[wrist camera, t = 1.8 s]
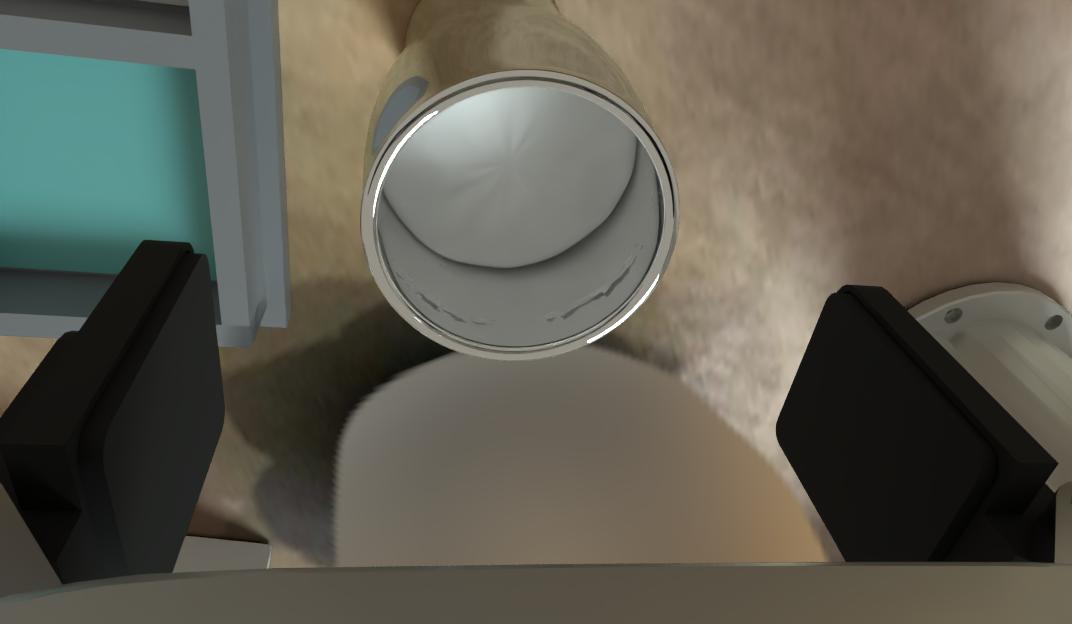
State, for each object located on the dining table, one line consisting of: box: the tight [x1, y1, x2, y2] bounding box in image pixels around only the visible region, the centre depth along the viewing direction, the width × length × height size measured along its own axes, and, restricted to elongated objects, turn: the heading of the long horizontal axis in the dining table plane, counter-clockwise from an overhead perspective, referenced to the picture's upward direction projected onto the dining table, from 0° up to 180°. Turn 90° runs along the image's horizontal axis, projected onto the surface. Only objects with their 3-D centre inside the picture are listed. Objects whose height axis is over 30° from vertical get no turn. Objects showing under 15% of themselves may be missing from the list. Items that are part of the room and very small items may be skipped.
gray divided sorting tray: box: [0, 0, 291, 348], centre depth 24 cm, size 13×24×4 cm, turn 172°
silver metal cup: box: [360, 0, 680, 361], centre depth 21 cm, size 7×7×15 cm
